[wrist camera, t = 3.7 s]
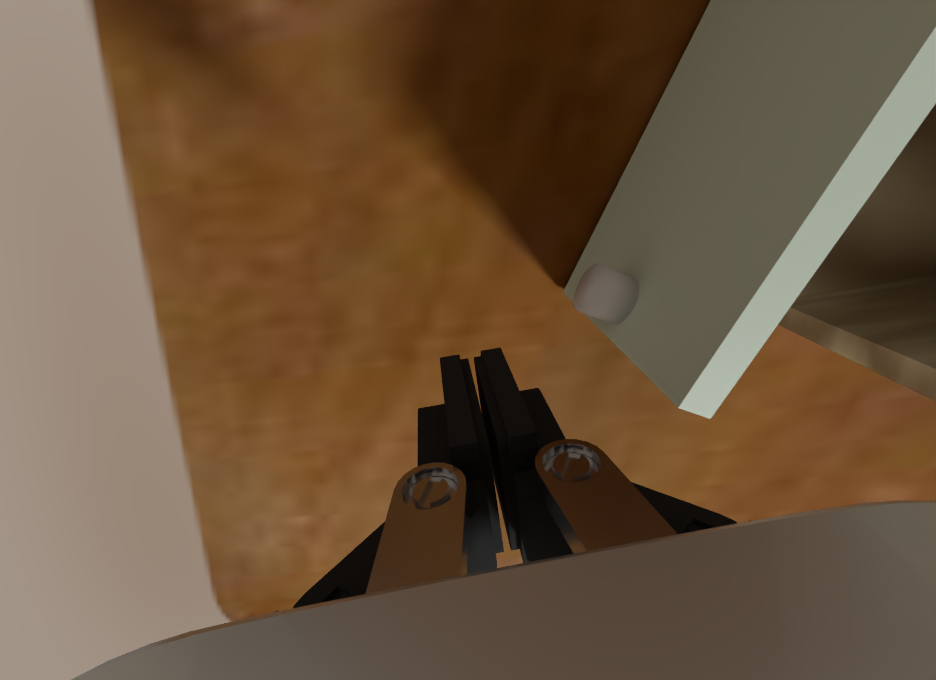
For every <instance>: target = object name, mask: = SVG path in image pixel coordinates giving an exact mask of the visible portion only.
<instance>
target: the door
mask: <svg viewBox="0 0 936 680" xmlns="http://www.w3.org/2000/svg"><path fill="white" fill-rule="evenodd" d="M935 104H936V0H711V1H710V3H709V5H708V7H707V9H706V10H705V12H704V14H703V16H702V18H701V20H700V22H699V24H698V26H697V28H696V30H695V32H694V34H693V36H692V38H691V40H690V42H689V44H688V46H687V48H686V50H685V52H684V54H683V56H682V58H681V60H680V62H679V64H678V66H677V68H676V70H675V72H674V74H673V76H672V78H671V80H670V82H669V84H668V86H667V88H666V90H665V92H664V93H663V95H662V97H661V99H660V101H659V103H658V105H657V107H656V109H655V111H654V113H653V115H652V117H651V119H650V121H649V123H648V125H647V127H646V129H645V131H644V133H643V135H642V137H641V139H640V141H639V143H638V145H637V147H636V149H635V151H634V153H633V155H632V157H631V159H630V161H629V163H628V165H627V167H626V169H625V171H624V173H623V175H622V177H621V178H620V180H619V182H618V184H617V186H616V188H615V190H614V192H613V194H612V196H611V198H610V200H609V202H608V204H607V206H606V208H605V210H604V212H603V214H602V216H601V218H600V220H599V222H598V224H597V226H596V228H595V230H594V232H593V234H592V236H591V238H590V240H589V242H588V244H587V246H586V248H585V250H584V252H583V254H582V256H581V258H580V260H579V261H578V263H577V265H576V267H575V269H574V271H573V273H572V275H571V277H570V279H569V281H568V283H567V285H566V287H565V289H564V291H563V293H564V294H565V295H566V296H567V297H568V298H569V299H570V300H571V301H572V302H573V303H574V307H575V309H576V310H577V311H580V312H582V313H584V314H585V315H586V316H587V317H588V318H589V319H590V320H591V321H592V322H593V323H594V324H595V325H596V326H597V327H598V328H599V329H600V330H601V331H602V332H603V333H604V334H605V335H606V336H607V337H608V338H609V339H610V340H611V341H612V342H613V343H614V344H615V345H616V346H617V347H618V348H619V349H620V350H621V351H622V352H623V353H624V354H625V355H626V356H627V357H628V358H629V359H630V360H631V361H632V362H633V363H634V364H635V365H636V366H637V367H638V368H639V369H640V370H641V371H642V372H643V373H644V374H645V375H646V376H647V377H648V378H649V379H650V380H651V381H652V382H653V383H654V384H655V385H656V386H657V387H658V388H659V389H660V390H661V391H662V392H663V393H664V394H665V395H666V396H667V397H668V398H669V399H670V400H671V401H672V402H673V403H674V404H675V405H676V406H677V407H678V408H680V409H683V410H686V411H689V412H692V413H695V414H698V415H701V416H703V417H706V418H709V419H711V417H712V416H713V415H714V413H715V412H716V410H717V409H718V408H719V406H720V405H721V403H722V402H723V401H724V399H725V398H726V396H727V395H728V394H729V392H730V391H731V389H732V388H733V387H734V385H735V384H736V382H737V381H738V380H739V378H740V377H741V375H742V374H743V373H744V371H745V370H746V368H747V367H748V366H749V364H750V363H751V361H752V360H753V359H754V357H755V356H756V354H757V353H758V352H759V350H760V349H761V347H762V346H763V345H764V343H765V342H766V340H767V339H768V338H769V336H770V335H771V333H772V332H773V331H774V329H775V328H776V326H777V325H778V324H779V322H780V321H781V319H782V318H783V317H784V315H785V314H786V312H787V311H788V310H789V308H790V307H791V305H792V304H793V303H794V301H795V300H796V298H797V297H798V296H799V294H800V293H801V291H802V290H803V289H804V287H805V286H806V284H807V283H808V282H809V280H810V279H811V277H812V276H813V275H814V273H815V272H816V270H817V269H818V268H819V266H820V265H821V263H822V262H823V261H824V259H825V258H826V256H827V255H828V254H829V252H830V251H831V249H832V248H833V247H834V245H835V244H836V242H837V241H838V240H839V238H840V237H841V235H842V234H843V233H844V231H845V230H846V228H847V227H848V226H849V224H850V223H851V221H852V220H853V219H854V217H855V216H856V214H857V213H858V212H859V210H860V209H861V207H862V206H863V205H864V203H865V202H866V200H867V199H868V198H869V196H870V195H871V193H872V192H873V191H874V189H875V188H876V186H877V185H878V184H879V182H880V181H881V179H882V178H883V177H884V175H885V174H886V172H887V171H888V170H889V168H890V167H891V165H892V164H893V163H894V161H895V160H896V158H897V157H898V156H899V154H900V153H901V151H902V150H903V149H904V147H905V146H906V144H907V143H908V142H909V140H910V139H911V137H912V136H913V135H914V133H915V132H916V130H917V129H918V128H919V126H920V125H921V123H922V122H923V121H924V119H925V118H926V116H927V115H928V114H929V112H930V111H931V109H932V108H933V107H934V105H935Z"/></svg>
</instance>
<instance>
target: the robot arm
mask: <svg viewBox="0 0 936 680" xmlns="http://www.w3.org/2000/svg"><path fill="white" fill-rule="evenodd" d="M474 363H475V370H476V377H477V384H478V391H479V398H480V405H481V409H480V405H479V401H478V397H477V393H476V389H475V385H474V381H473V377H472V373H471V369H470V365H469V361H468V358H467V359H461V360H460V356H459V355H453V356H447V357H441V358H440V365H441V374H442V384H443V393H444V402H445V404H441V405H436V406H430V407H424V408H419V409H418V467H416V468H413V469H412V470H410V471H409V472H407V473H406V474H404V476H403V477H402V478H401V479H400V480H399V481H398V482H397V485H396V487H395V489H394V492H393V495H392V499H391V503H390V506H389V510H388V513H387V517H386V521H385V522H384V523H383V524H382V525H381V526H380V527H378V528H377V529H376V530H375V531H374V532H373V533H372V534H371V535H369V536H368V537H367V538H366V539H365V540H364V541H363V542H362V543H361V544H359V545H358V546H357V547H356V548H355V549H354V550H353V551H352V552H351V553H349V554H348V555H347V556H346V557H345V558H344V559H343V560H342V561H341V562H339V563H338V564H337V565H336V566H335V567H334V568H333V569H332V570H331V571H329V572H328V573H327V574H326V575H325V576H324V577H323V578H322V579H321V580H319V581H318V582H317V583H316V584H315V585H314V586H313V587H312V588H311V589H309V590H308V591H307V592H306V593H305V594H304V595H303V596H302V597H301V598H300V600H299V601H298V602H297V603H296V604H295V605H294V607H293V608H292V609H287V610H282V611H278V610H277V611H275V612H272V613H267V614H263V615H258V616H254V617H250V618H246V619H241V620H237V621H233V622H229V623H224V624H221V625H216V626H212V627H208V628H203V629H199V630H195V631H190V632H187V633H184V634H180V635H177V636H174V637H171V638H168V639H164V640H161V641H158V642H155V643H151V644H148V645H146V646H144V647H141V648H139V649H136V650H134V651H131V652H129V653H126V654H124V655H121V656H119V657H116V658H114V659H111V660H109V661H107V662H105V663H103V664H101V665H99V666H97V667H95V668H93V669H91V670H89V671H87V672H85V673H83V674H81V675H79V676H78V677H76V678H74V679H72V680H936V501H902V500H899V501H885V502H871V503H861V504H854V505H847V506H840V507H833V508H826V509H820V510H813V511H806V512H799V513H792V514H787V515H782V516H777V517H771V518H765V519H760V520H754V521H748V522H742V523H737V522H735V521H734V520H732V519H729V518H727V517H725V516H723V515H721V514H718V513H715V512H713V511H710V510H707V509H704V508H701V507H699V506H696V505H693V504H690V503H688V502H685V501H682V500H679V499H676V498H674V497H671V496H668V495H665V494H663V493H660V492H657V491H654V490H652V489H649V488H646V487H643V486H640V485H638V484H635V483H632V482H630V481H629V479H628V478H627V477H626V476H625V475H624V474H623V473H622V472H621V471H620V469H619V468H618V467H617V466H616V465H615V464H614V463H613V462H612V461H611V459H610V458H609V457H608V456H607V455H606V454H605V453H604V452H603V451H602V450H601V449H600V448H598V447H597V446H595V445H593V444H591V443H589V442H586V441H582V440H577V439H565V437H564V435H563V433H562V431H561V429H560V427H559V425H558V423H557V422H556V420H555V418H554V416H553V414H552V412H551V410H550V408H549V406H548V404H547V403H546V401H545V399H544V397H543V395H542V393H541V391H540V390H539V388H534V389H529V390H523V391H519V389H518V387H517V384H516V382H515V380H514V378H513V375H512V373H511V371H510V368H509V366H508V364H507V361H506V359H505V357H504V355H503V352H502V350H501V348H495V349H489V350H483V351H481V356H479V357H474ZM481 412H482V413H481ZM493 476H494V477H493ZM494 480H495V485H496V489H497V493H498V497H499V502H500V506H501V510H502V514H503V518H504V523H505V527H506V531H507V535H508V540H509V544H510V548H511V550H516V549H520V551H521V555H522V559H523V563H522V564H517V565H512V566H506V567H501V568H497V560H496V554H495V553H500V552H504V549H503V542H502V535H501V528H500V520H499V513H498V506H497V499H496V492H495V485H494Z"/></svg>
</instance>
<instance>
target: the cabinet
mask: <svg viewBox="0 0 936 680" xmlns="http://www.w3.org/2000/svg"><path fill="white" fill-rule="evenodd" d="M778 325H780V326H782V327H784V328H786V329H788V330H790V331H792V332H795V333H797V334H799V335H801V336H803V337H805V338H807V339H809V340H811V341H813V342H815V343H817V344H819V345H821V346H823V347H825V348H827V349H829V350H832V351H834V352H836V353H838V354H840V355H842V356H844V357H846V358H848V359H850V360H852V361H854V362H856V363H858V364H860V365H862V366H864V367H867V368H869V369H871V370H873V371H875V372H877V373H879V374H881V375H883V376H885V377H887V378H889V379H891V380H893V381H895V382H897V383H899V384H901V385H904V386H906V387H908V388H910V389H912V390H914V391H916V392H918V393H920V394H922V395H924V396H926V397H928V398H930V399H932V400H934V401H936V104H935V105H934V107H933V108H932V109H931V111H930V112H929V114H928V115H927V116H926V118H925V119H924V121H923V122H922V123H921V125H920V126H919V128H918V129H917V130H916V132H915V133H914V135H913V136H912V137H911V139H910V140H909V142H908V143H907V144H906V146H905V147H904V149H903V150H902V151H901V153H900V154H899V156H898V157H897V158H896V160H895V161H894V163H893V164H892V165H891V167H890V168H889V170H888V171H887V172H886V174H885V175H884V177H883V178H882V179H881V181H880V182H879V184H878V185H877V186H876V188H875V189H874V191H873V192H872V193H871V195H870V196H869V198H868V199H867V200H866V202H865V203H864V205H863V206H862V207H861V209H860V210H859V212H858V213H857V214H856V216H855V217H854V219H853V220H852V221H851V223H850V224H849V226H848V227H847V228H846V230H845V231H844V233H843V234H842V235H841V237H840V238H839V240H838V241H837V242H836V244H835V245H834V247H833V248H832V249H831V251H830V252H829V254H828V255H827V256H826V258H825V259H824V261H823V262H822V263H821V265H820V266H819V268H818V269H817V270H816V272H815V273H814V275H813V276H812V277H811V279H810V280H809V282H808V283H807V284H806V286H805V287H804V289H803V290H802V291H801V293H800V294H799V296H798V297H797V298H796V300H795V301H794V303H793V304H792V305H791V307H790V308H789V310H788V311H787V312H786V314H785V315H784V317H783V318H782V319H781V321H780V322H779V324H778Z"/></svg>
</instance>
